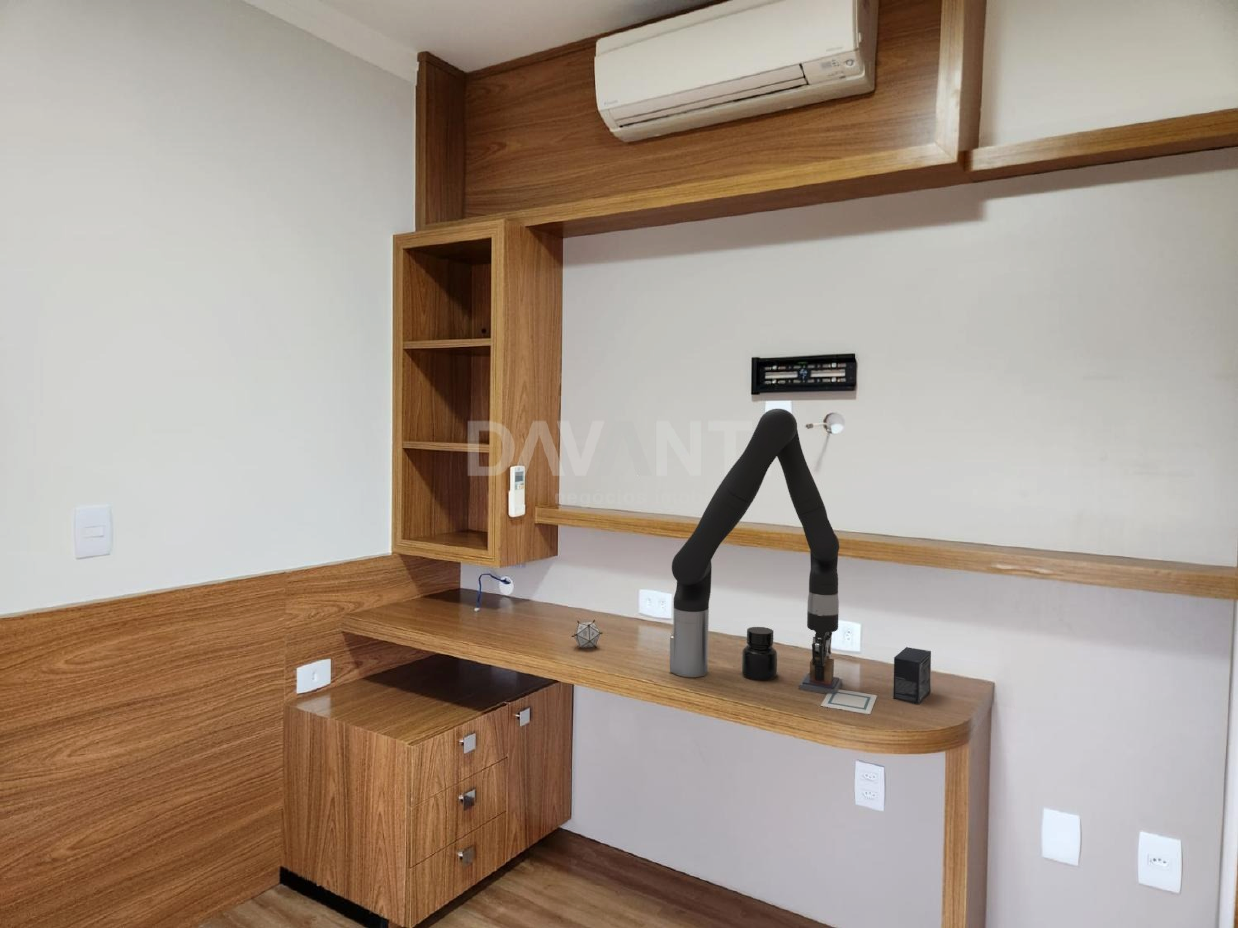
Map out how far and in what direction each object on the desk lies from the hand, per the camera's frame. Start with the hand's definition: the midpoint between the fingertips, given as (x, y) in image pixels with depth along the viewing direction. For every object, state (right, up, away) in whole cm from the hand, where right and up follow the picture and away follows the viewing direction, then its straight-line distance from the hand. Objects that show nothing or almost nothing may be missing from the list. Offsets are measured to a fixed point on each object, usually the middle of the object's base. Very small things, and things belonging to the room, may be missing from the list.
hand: (821, 676), depth 188 cm
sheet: (+4, -3, -10) cm, 11 cm away
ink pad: (0, -2, 0) cm, 2 cm away
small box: (+21, -3, -5) cm, 21 cm away
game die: (-60, 0, +30) cm, 67 cm away
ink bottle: (-14, -2, +8) cm, 16 cm away
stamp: (0, -1, 0) cm, 1 cm away
